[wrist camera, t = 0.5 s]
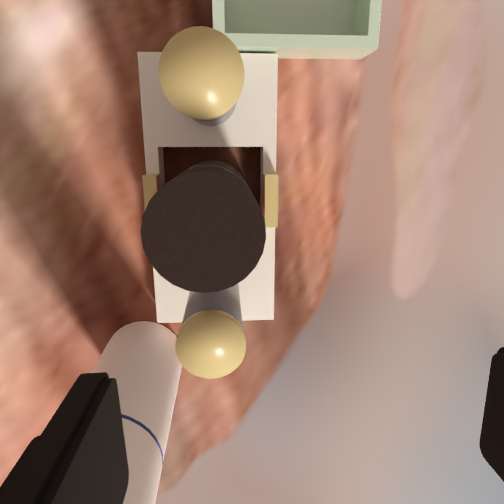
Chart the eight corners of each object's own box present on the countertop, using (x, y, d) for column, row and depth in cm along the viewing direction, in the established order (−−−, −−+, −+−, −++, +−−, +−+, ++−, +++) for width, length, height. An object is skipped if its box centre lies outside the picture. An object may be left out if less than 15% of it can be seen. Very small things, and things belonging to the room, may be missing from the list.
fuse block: (144, 59, 30) (90, 2, 18) (273, 60, 30) (304, 7, 18) (161, 310, 35) (129, 394, 23) (270, 307, 36) (292, 387, 24)
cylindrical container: (187, 385, 37) (119, 813, 13) (112, 391, 37) (-94, 844, 13) (179, 318, 36) (84, 678, 12) (100, 324, 35) (-167, 710, 11)
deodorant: (201, 145, 32) (182, 145, 17) (261, 185, 33) (290, 216, 18) (165, 205, 33) (118, 253, 18) (224, 242, 34) (223, 313, 20)
